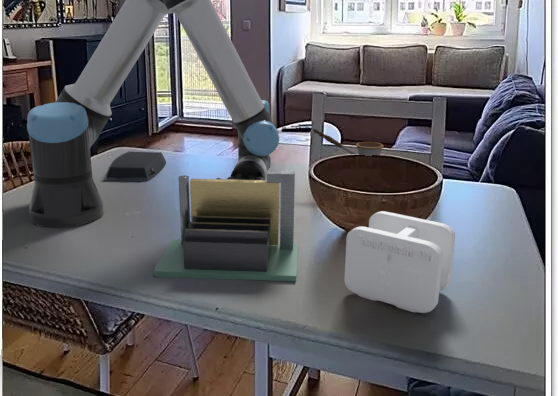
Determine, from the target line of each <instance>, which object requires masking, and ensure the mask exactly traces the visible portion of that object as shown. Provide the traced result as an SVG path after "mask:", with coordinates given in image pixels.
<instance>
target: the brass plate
mask: <svg viewBox="0 0 558 396" xmlns="http://www.w3.org/2000/svg"><path fill="white" fill-rule="evenodd" d="M189 198H190V222H192V216H225V217H259V218H271V245H276V246H278V243H279V242H280V227H279V226H280V224H279V223H280V215H279V214H280V183H272V182H267V179H265V180H229V179H227V178H225V179H224V178H221V179H216V178H190V180H189Z"/></svg>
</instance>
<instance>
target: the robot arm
mask: <svg viewBox="0 0 558 396" xmlns="http://www.w3.org/2000/svg"><path fill="white" fill-rule="evenodd" d="M169 14H173V15H174V14H175V15H176V17H177V19H178V21H179V23H180V25H181V27H182V29H183V30H184V32H185V34H186V36H187V38H188V40H189V41H190V44H191V46H192V47H193V49H194V51H195V52H196V54H197V56H198V59H199V60H200V62H201V63H202V66H203V68H204V70H205V72H206V73H207V75H208V77H209V79H210V81H211V83H212V84H213V86H214V88H215V90H216V93H217V94H218V96H219V98H220V99H221V101H222V103H223V105H224V107H225V109H226V111H227V113H228V114H229V116H230V118H231V120H232V122H233V124H234V126H235V128H236V130H237V136H238V143H237V144H238V145H237V150H238V151H237V152H238V153H237V155H238V156H237V159H238V160H237V163H236V165H235V166H234V168H233V170H232V171H231V174H230V176H228V177H227V178H226V179H229V180H266V179H267V171H268V169H271V163H272V162H271V154H273V152H275V151H276V150H277V148H278V146H279V143H280V135H279V130H278V128H277V126H275V124H274V123H273V121H272V118H271V117H270V115H271V112H270V103H269V102H268V101H267V100H265V99H264V100H263V99H261V97H260V94H259V93H258V91H257V89H256V87H255V85H254V83H253V81H252V79H251V78H250V76H249V73H248V71H247V70H246V66H245V65H244V64H243V62H242V61H243V60H242V59H241V57H240V55H239V54H238V51H237V49H236V47H235V46H234V44H233V41H232V40H231V38H230V35H229V34H228V32H227V30H226V28H225V26H224V24H223V21H222V19H221V17H220V16H219V14H218V12H217V10H216V7H215V6H214V3H213V1H212V0H125V1H124V3H122V6H121V8H119V11H118V12H117V14H116V16H115V17H114V18H113V21H112V23H111V24H110V26H109V27H108V29H107V31H106V32H105V34H104V36H103V37H102V39H101V41H100V42H99V43H98V45H97V48H96V49H95V50H94V52H93V54H92V55H91V57H90V58H89V60H88V62H87V64H86V65H85V67H84V69H83V70H82V71H81V74H80V75H79V76H78V78H77V80H76V82H75V83H72V84H68V85H65V86H64V87H63V89H62V91H61V92H60V94H59V96H58V97H57V99H56V100H55V102H49V103H44V104H43V105H37V106H35V107H33V108H31V109H30V110H29V112H28V113H27V116H26V117H27V122H26V123H27V124H26V131H27V133H28V139H29V148H30V156H31V166H32V173H33V181H34V183H33V184H34V185H33V189H32V194H31V197H30V203H29V208H28V214H29V220H30V222H31V223H32V224H34V225H37V226H40V227H41V226H42V227H47V228H48V227H51V228H65V227H74V226H79V225H85V224H88V223H90V222H93V221H96V220H98V219H99V218H101V217H102V216H103V215H104V214H105V210H104V201H103V199H102V197H101V195H100V192H99V190H98V188H97V185H96V183H95V181H94V178H93V171H92V169H93V168H92V167H93V166H92V158H91V148H92V146H93V145H94V144H95V142H96V141H97V140H99V139H98V138H99V137H100V135H101V132H102V131H103V129H104V128H105V126H106V124H107V122H108V121H109V118H110V117H111V116H112V114H113V113H112V109H111V103H112V101H113V99H114V98H115V96H116V95H117V94H118V92H119V90H120V88H121V87H122V85H123V84H124V81H126V80H127V79H126V78H127V77H128V76H129V74H130V72H131V71H132V69H133V68H134V65H135V64H136V62H137V61H138V60H139V58H140V56H141V55H142V53H143V52H144V50H145V48H146V46H147V45H148V44H149V42H150V40H151V39H152V37H153V35H154V34H155V33H156V30H157V29H158V27H159V26H160V24H161V23H162V21H163V19H164V18H165V16H167V15H169ZM215 179H222V178H220V177H216V178H215Z"/></svg>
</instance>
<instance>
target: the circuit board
mask: <svg viewBox="0 0 558 396" xmlns="http://www.w3.org/2000/svg"><path fill="white" fill-rule="evenodd" d="M298 255H299V243H293V250H280V242H278V246H276V245H271V251H270V256H269V262H268V268H267V272H253V271H223V270H194V269H184V250H183V245H182V244H181V239H172V240H171V241H170V243H169V245H168V246H167V248H166V249H165V251H164V253H163V254H162V256H161V257H160V259H159V261H158V263H157V264H156V266H155V268H154V270H153V277H157V278H159V277H160V278H162V277H163V278H184V279H185V278H186V279H187V278H188V279H189V278H190V279H214V280H215V279H217V280H218V279H219V280H244V281H245V280H247V281H248V280H249V281H269V282H270V281H272V282H273V281H274V282H297V277H298V276H297V273H298V258H299V257H298Z"/></svg>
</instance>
